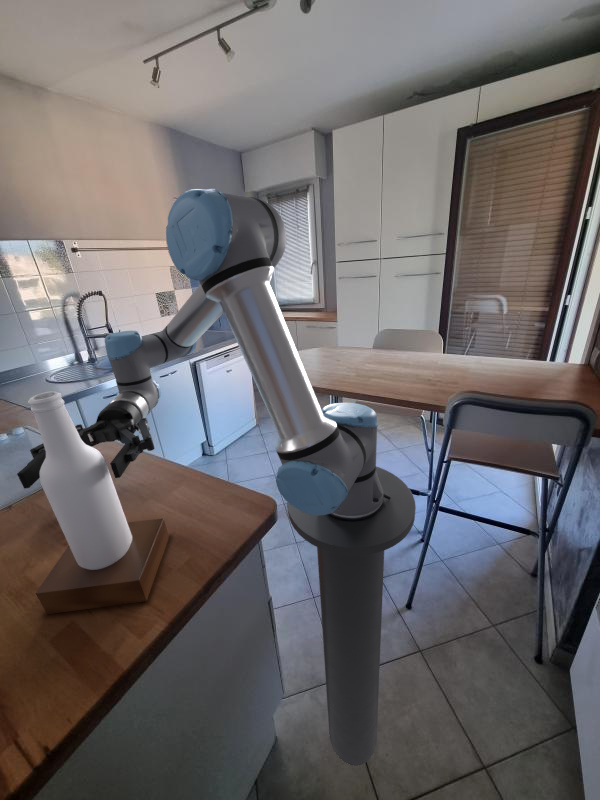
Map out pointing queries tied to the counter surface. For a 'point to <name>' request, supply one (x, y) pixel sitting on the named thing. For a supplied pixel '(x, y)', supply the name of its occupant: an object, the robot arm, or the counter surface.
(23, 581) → the counter surface
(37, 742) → the counter surface
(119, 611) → the counter surface
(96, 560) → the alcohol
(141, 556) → the stand
